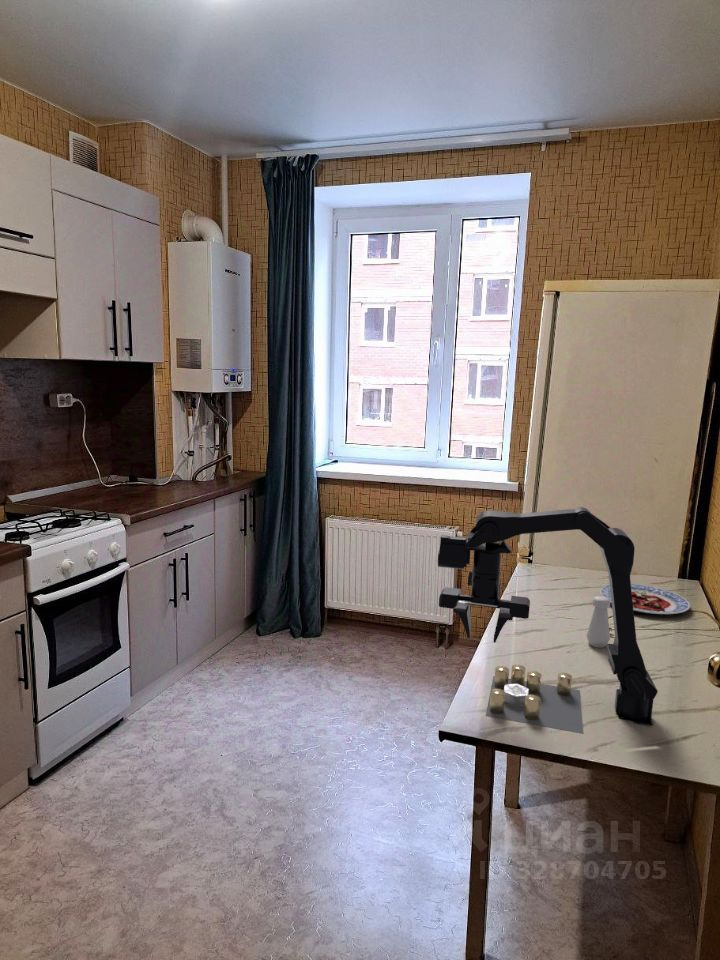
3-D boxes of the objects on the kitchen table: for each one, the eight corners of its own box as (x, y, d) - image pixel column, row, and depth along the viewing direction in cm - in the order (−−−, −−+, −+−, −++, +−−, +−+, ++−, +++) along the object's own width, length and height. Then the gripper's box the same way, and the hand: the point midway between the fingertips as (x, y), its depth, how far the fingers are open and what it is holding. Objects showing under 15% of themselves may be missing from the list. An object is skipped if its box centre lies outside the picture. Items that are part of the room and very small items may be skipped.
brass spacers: (570, 689, 140) (572, 673, 139) (572, 727, 125) (574, 709, 124) (495, 677, 145) (496, 661, 144) (488, 712, 130) (490, 694, 129)
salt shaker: (590, 637, 169) (594, 592, 167) (611, 644, 166) (616, 597, 163) (582, 644, 165) (586, 597, 163) (604, 651, 161) (609, 603, 159)
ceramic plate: (687, 627, 179) (688, 617, 179) (593, 608, 192) (594, 598, 191) (691, 600, 201) (692, 591, 201) (606, 584, 214) (607, 576, 213)
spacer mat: (579, 692, 140) (579, 690, 140) (583, 735, 123) (583, 733, 123) (493, 677, 145) (493, 676, 145) (485, 717, 128) (485, 715, 128)
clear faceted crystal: (522, 693, 138) (523, 683, 137) (533, 704, 133) (534, 694, 133) (498, 695, 136) (498, 685, 136) (508, 707, 132) (509, 696, 131)
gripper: (533, 565, 137) (527, 631, 140) (448, 555, 142) (444, 620, 145) (531, 580, 127) (525, 652, 129) (440, 569, 132) (436, 639, 135)
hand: (481, 640), depth 135 cm, fingers open, 5 cm apart
